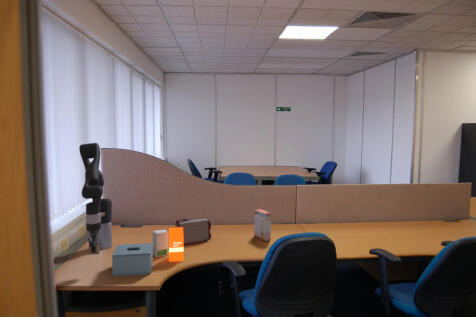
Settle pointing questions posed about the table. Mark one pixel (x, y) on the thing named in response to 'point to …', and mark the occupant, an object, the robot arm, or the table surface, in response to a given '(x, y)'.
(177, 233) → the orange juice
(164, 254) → the skincare box
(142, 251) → the box
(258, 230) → the cracker box
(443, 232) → the table surface
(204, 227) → the handbag
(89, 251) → the brown rectangular block
